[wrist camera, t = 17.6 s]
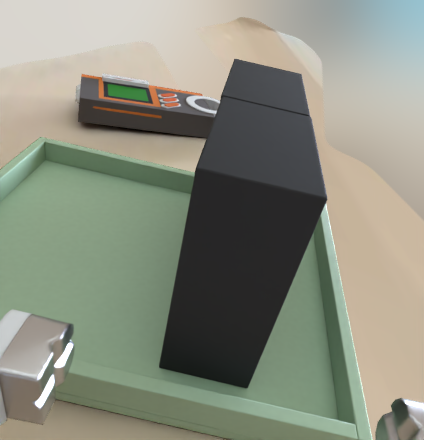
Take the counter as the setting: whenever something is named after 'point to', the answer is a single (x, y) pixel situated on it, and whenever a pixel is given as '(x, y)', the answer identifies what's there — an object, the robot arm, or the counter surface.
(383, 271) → the counter surface
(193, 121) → the electronic device
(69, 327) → the robot arm
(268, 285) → the black block
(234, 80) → the black rectangular block
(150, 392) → the assembly tray
